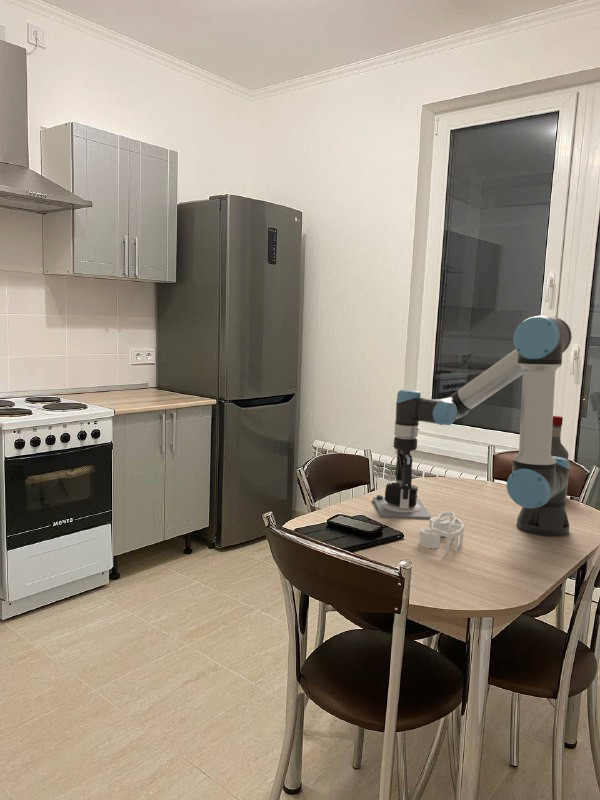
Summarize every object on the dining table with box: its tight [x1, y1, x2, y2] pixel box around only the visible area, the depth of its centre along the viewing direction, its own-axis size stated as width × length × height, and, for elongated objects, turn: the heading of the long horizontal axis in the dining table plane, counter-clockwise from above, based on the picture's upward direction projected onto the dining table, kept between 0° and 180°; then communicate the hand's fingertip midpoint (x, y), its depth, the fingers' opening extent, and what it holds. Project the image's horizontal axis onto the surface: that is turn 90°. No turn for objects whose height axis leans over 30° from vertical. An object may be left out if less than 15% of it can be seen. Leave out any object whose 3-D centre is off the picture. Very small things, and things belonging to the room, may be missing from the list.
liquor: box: [551, 415, 569, 461], centre depth 232 cm, size 9×9×30 cm
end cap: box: [384, 482, 419, 507], centre depth 206 cm, size 10×7×7 cm
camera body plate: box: [372, 494, 432, 520], centre depth 207 cm, size 20×16×2 cm
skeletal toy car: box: [418, 511, 465, 555], centre depth 176 cm, size 20×11×7 cm, turn 154°
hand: (401, 503), depth 207 cm, fingers closed on end cap, 9 cm apart
